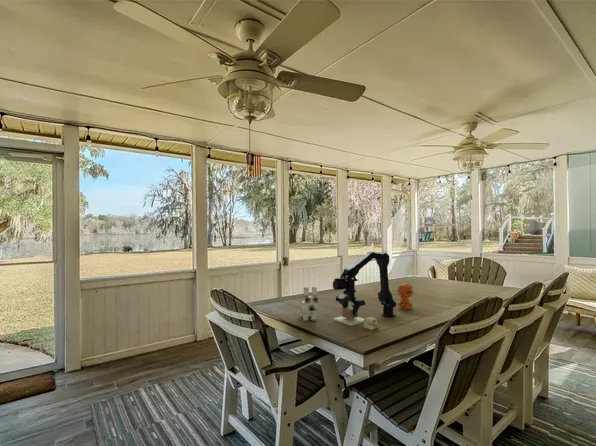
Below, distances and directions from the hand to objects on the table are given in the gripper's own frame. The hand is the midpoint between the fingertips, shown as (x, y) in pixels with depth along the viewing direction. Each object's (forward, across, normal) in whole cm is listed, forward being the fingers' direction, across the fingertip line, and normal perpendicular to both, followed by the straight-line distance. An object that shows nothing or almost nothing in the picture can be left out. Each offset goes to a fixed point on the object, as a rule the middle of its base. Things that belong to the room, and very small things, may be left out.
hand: (350, 315), depth 186 cm
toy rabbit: (+4, -18, -17) cm, 25 cm away
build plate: (+3, 0, 0) cm, 3 cm away
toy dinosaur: (+4, +5, +51) cm, 51 cm away
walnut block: (+1, 0, 0) cm, 1 cm away
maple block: (+4, +16, -1) cm, 16 cm away
